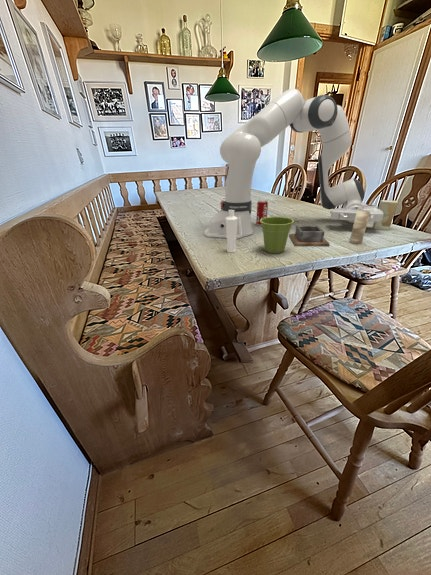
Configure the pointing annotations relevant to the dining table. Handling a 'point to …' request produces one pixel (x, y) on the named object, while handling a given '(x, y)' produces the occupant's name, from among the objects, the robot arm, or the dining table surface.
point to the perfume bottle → (231, 231)
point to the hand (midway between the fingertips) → (357, 219)
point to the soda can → (261, 211)
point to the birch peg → (359, 227)
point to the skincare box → (386, 214)
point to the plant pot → (275, 233)
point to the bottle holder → (308, 236)
